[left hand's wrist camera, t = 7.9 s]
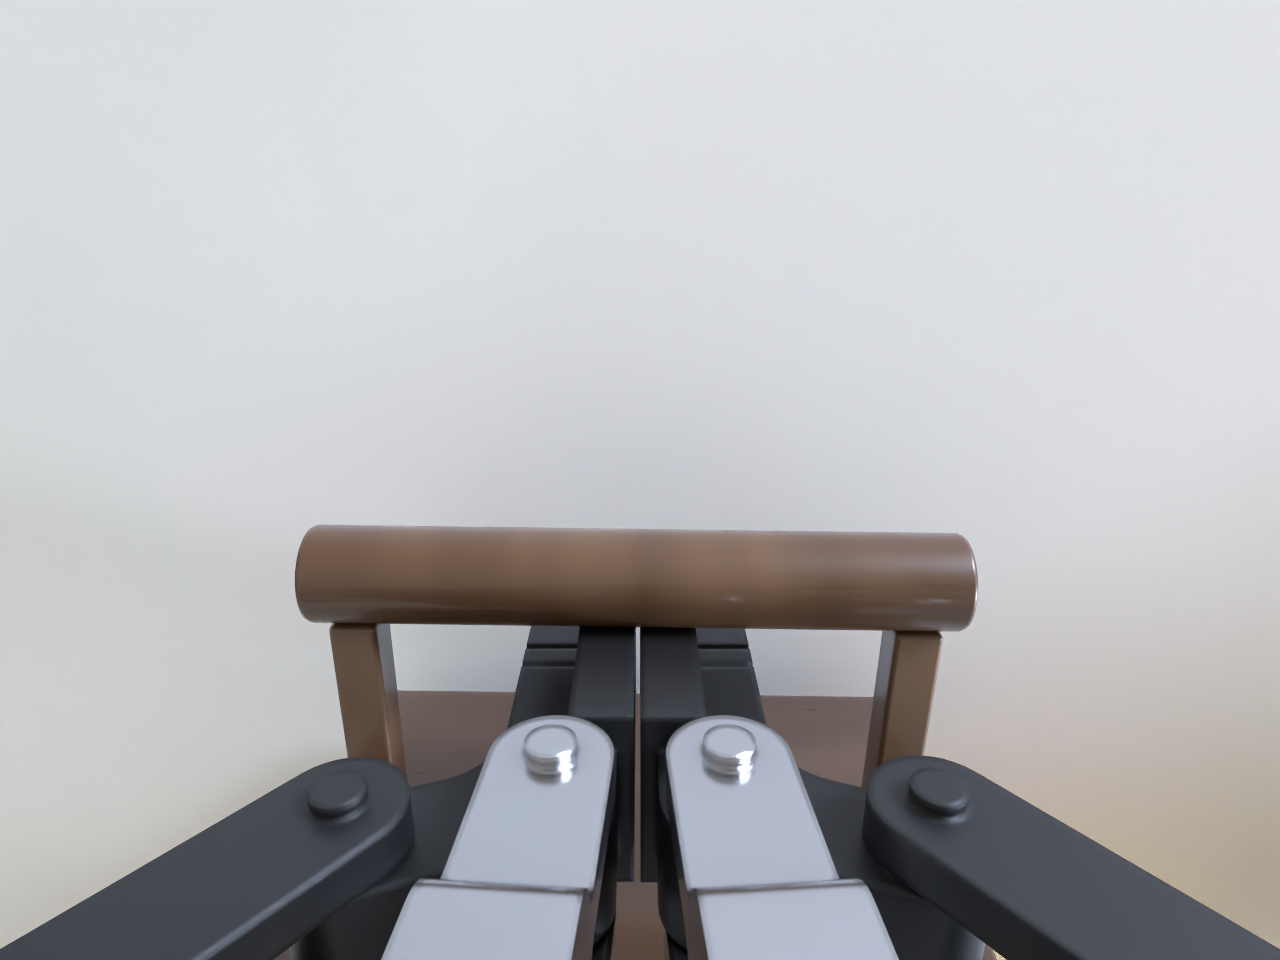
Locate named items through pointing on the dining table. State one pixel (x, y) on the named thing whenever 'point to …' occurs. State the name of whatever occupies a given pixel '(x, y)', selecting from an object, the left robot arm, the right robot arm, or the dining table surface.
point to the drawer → (633, 597)
